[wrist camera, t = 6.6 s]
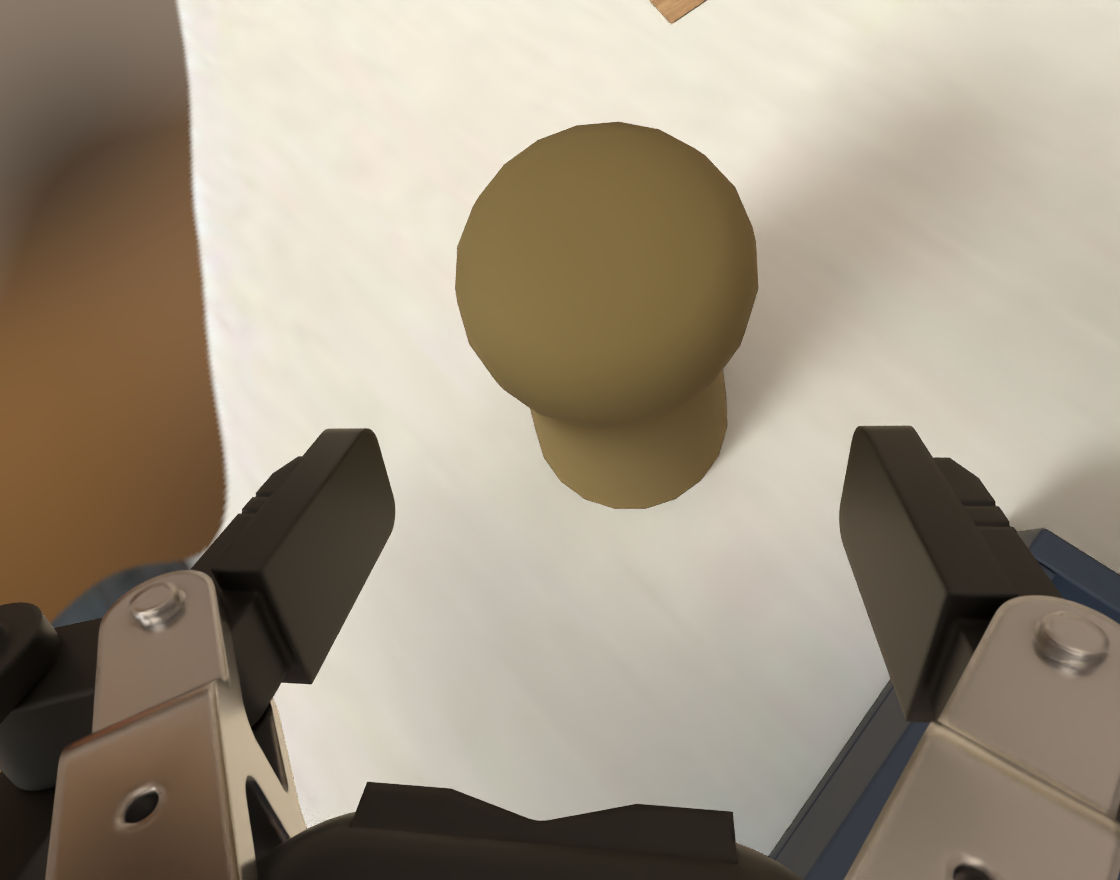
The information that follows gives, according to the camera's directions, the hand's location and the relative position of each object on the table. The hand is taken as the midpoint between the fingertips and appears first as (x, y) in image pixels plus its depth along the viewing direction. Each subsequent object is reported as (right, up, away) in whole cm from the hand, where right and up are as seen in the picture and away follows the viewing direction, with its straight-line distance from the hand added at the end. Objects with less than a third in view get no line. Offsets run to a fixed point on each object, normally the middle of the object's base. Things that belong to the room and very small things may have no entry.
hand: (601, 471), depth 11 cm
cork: (+1, +1, +9) cm, 10 cm away
